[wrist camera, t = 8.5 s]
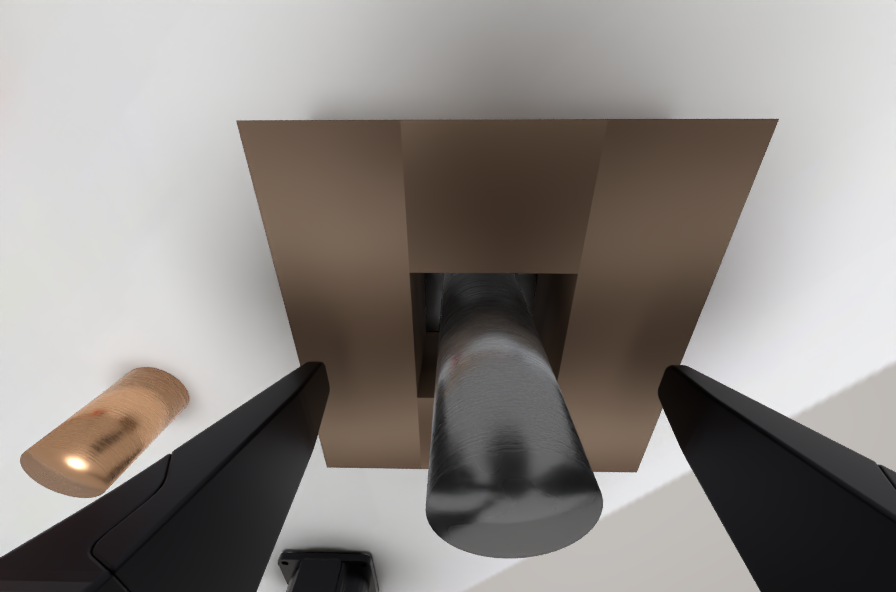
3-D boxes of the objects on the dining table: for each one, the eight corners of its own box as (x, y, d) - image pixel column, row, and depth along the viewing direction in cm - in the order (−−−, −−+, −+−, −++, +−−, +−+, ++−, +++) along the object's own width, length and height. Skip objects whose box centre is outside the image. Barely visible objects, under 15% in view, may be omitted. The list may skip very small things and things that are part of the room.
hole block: (597, 396, 16) (636, 472, 13) (354, 393, 17) (326, 467, 13) (672, 120, 11) (778, 118, 7) (306, 121, 11) (236, 120, 7)
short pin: (197, 412, 17) (120, 498, 13) (141, 411, 17) (48, 497, 13) (175, 367, 16) (82, 448, 12) (114, 366, 16) (2, 447, 12)
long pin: (512, 317, 14) (584, 560, 6) (443, 316, 14) (427, 556, 6) (519, 251, 13) (622, 456, 5) (442, 251, 13) (422, 452, 5)
